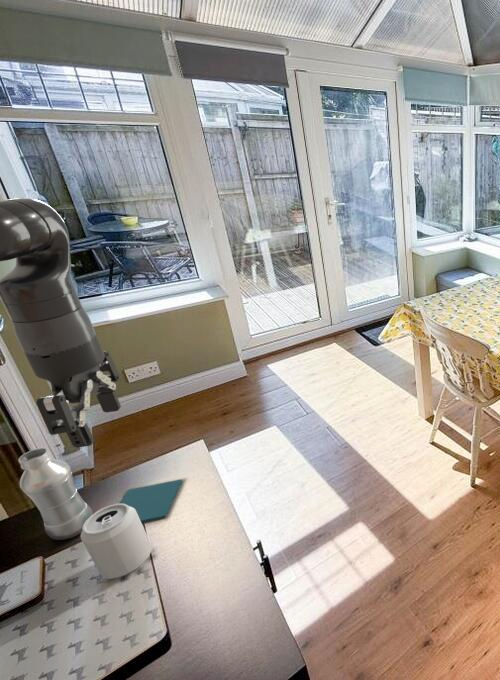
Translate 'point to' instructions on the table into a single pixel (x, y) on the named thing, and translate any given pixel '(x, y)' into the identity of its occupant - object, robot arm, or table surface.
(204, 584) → the table surface
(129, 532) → the can
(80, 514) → the plastic bottle
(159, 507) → the mat
